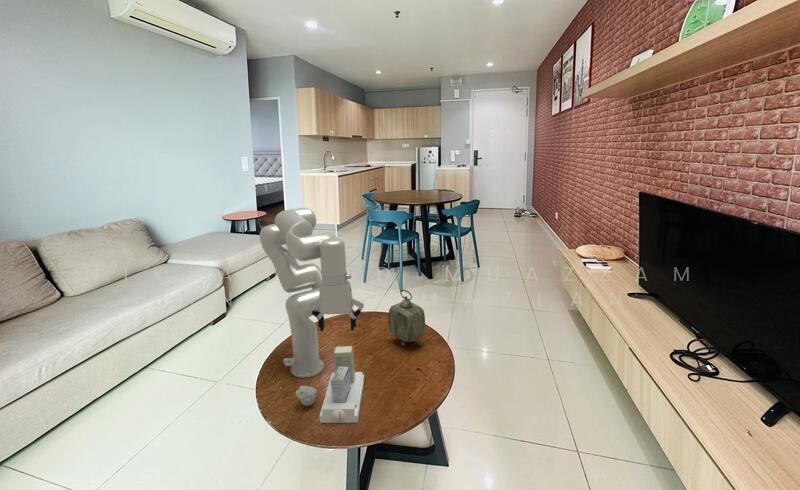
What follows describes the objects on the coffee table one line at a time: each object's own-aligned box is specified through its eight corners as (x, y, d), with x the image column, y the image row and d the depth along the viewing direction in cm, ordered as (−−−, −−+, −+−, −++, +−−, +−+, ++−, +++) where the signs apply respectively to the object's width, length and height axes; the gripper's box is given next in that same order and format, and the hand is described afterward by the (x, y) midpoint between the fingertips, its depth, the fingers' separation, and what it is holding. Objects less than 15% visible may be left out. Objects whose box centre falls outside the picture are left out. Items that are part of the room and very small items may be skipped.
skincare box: (355, 375, 139) (353, 345, 136) (353, 383, 135) (352, 352, 132) (337, 376, 139) (335, 346, 136) (335, 383, 135) (333, 352, 132)
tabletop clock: (425, 346, 165) (425, 292, 158) (410, 354, 159) (409, 298, 153) (402, 334, 175) (401, 283, 169) (387, 341, 170) (386, 288, 163)
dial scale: (319, 423, 121) (318, 410, 119) (331, 380, 142) (331, 368, 141) (357, 423, 121) (356, 409, 119) (364, 380, 142) (363, 368, 141)
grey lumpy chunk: (295, 401, 131) (293, 384, 129) (316, 396, 134) (314, 378, 132) (298, 412, 126) (296, 394, 124) (319, 406, 129) (318, 388, 127)
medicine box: (345, 403, 125) (344, 380, 122) (332, 402, 125) (330, 379, 123) (350, 388, 132) (349, 366, 130) (338, 387, 133) (336, 365, 130)
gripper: (363, 273, 121) (365, 323, 125) (309, 274, 121) (313, 323, 125) (361, 282, 114) (363, 334, 118) (303, 283, 114) (307, 335, 118)
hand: (337, 328), depth 122 cm, fingers open, 9 cm apart
